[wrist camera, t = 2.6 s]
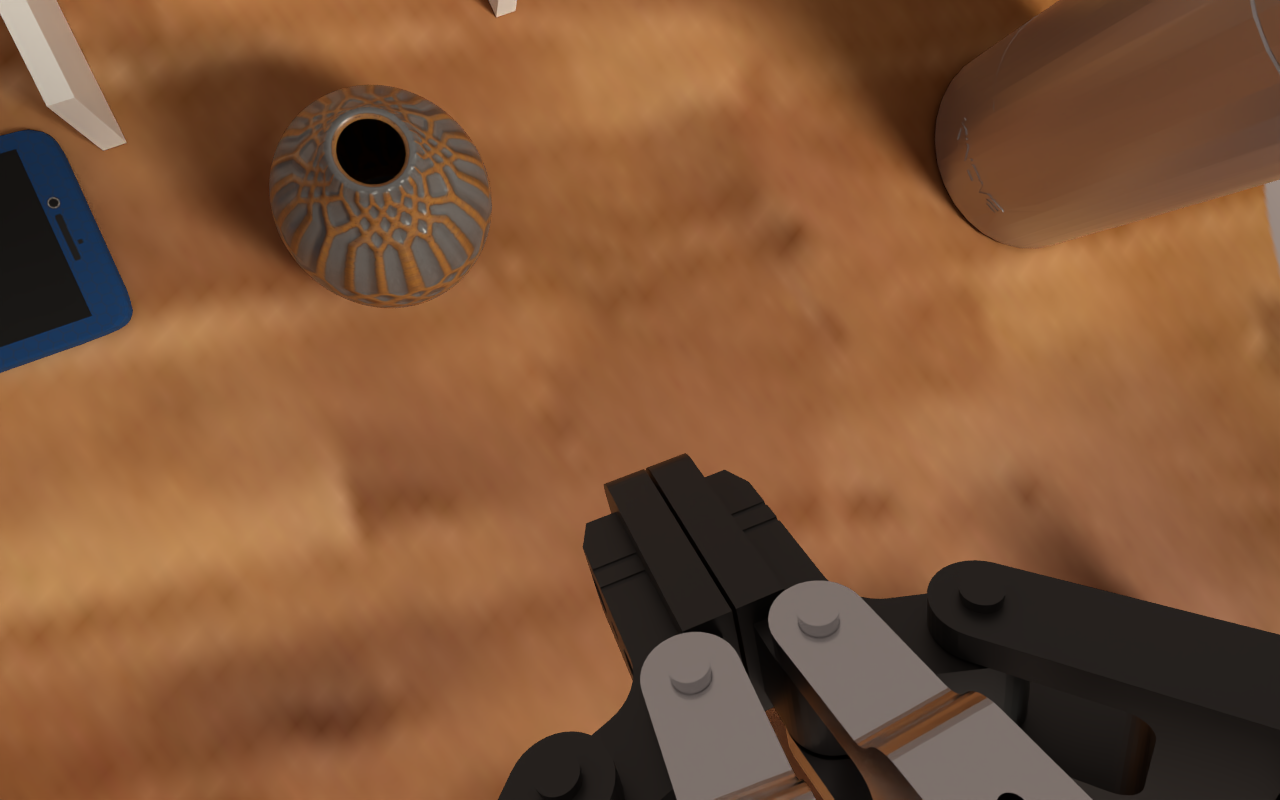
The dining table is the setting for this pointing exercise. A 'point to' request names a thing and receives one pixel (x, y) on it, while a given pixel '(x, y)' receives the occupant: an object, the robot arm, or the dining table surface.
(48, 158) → the cell phone
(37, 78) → the frame
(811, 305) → the dining table surface
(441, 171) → the vase
